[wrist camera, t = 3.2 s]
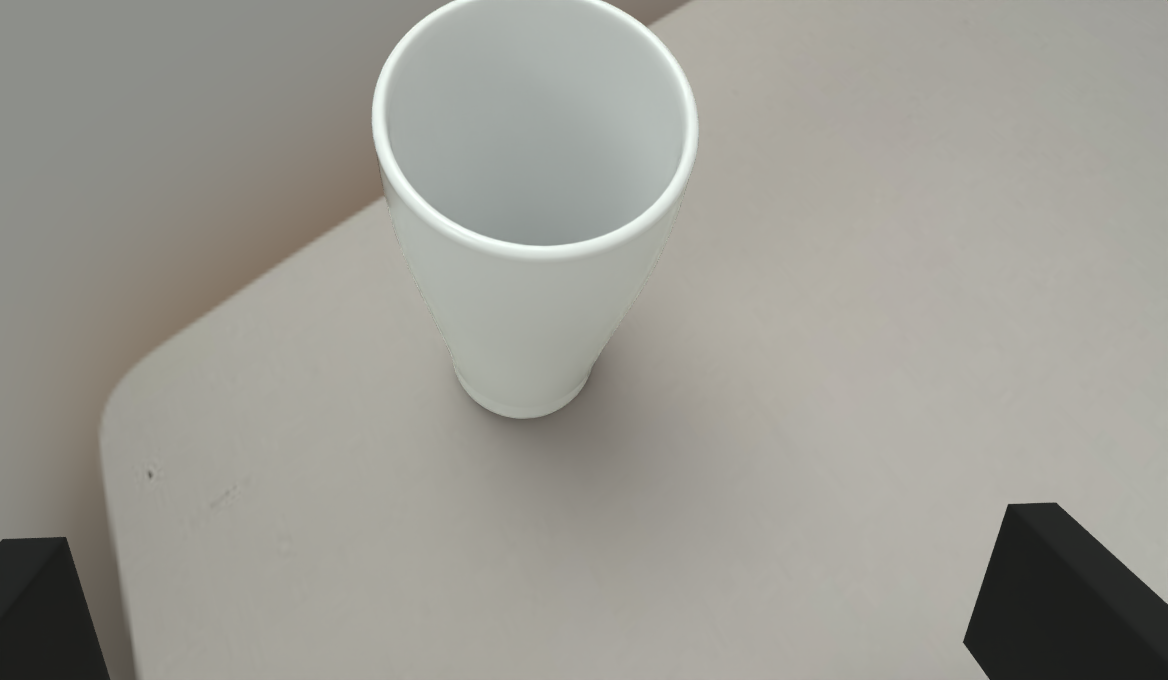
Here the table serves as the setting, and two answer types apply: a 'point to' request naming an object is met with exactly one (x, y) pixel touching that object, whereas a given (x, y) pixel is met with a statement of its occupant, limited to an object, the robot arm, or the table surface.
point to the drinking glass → (531, 183)
